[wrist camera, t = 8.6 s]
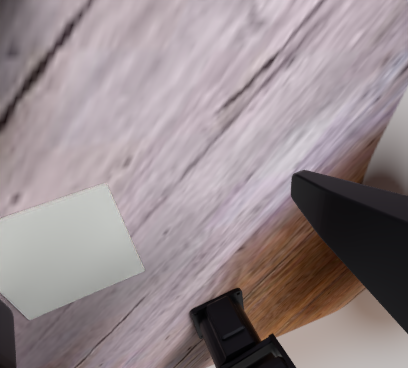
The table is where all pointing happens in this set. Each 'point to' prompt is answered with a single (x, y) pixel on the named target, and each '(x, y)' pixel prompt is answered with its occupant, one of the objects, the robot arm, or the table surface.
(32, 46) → the table surface
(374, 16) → the table surface
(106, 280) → the mat
